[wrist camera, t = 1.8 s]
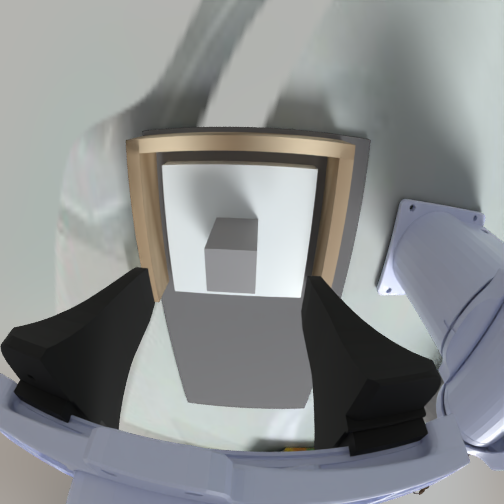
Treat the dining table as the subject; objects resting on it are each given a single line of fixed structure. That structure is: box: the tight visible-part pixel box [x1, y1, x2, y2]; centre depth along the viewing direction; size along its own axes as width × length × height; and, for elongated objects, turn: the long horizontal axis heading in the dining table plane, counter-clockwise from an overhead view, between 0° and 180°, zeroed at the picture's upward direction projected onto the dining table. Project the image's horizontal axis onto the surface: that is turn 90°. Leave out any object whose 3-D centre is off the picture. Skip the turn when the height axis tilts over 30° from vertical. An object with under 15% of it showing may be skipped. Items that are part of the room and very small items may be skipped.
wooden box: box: [126, 132, 356, 302], centre depth 17 cm, size 12×11×3 cm
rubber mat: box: [143, 127, 371, 409], centre depth 22 cm, size 14×30×1 cm, turn 178°
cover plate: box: [162, 161, 318, 298], centre depth 16 cm, size 9×9×5 cm
